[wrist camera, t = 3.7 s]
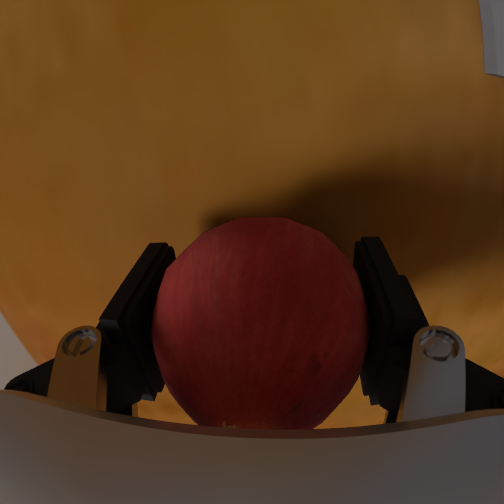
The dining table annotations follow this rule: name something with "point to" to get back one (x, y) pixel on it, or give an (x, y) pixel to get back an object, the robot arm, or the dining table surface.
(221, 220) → the dining table surface
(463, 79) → the dining table surface
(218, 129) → the dining table surface
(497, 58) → the coaster
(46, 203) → the dining table surface
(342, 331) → the onion
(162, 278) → the robot arm
